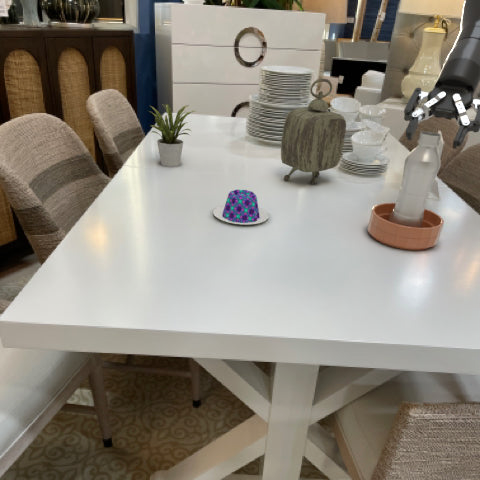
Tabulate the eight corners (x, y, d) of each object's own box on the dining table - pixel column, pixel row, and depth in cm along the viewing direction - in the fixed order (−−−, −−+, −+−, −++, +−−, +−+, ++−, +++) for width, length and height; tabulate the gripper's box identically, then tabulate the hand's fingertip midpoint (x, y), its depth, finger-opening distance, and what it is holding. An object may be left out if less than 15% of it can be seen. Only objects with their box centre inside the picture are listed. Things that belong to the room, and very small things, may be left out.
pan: (425, 227, 105) (431, 205, 102) (445, 255, 93) (453, 231, 90) (361, 222, 105) (366, 200, 102) (374, 249, 93) (379, 225, 90)
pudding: (206, 208, 105) (207, 185, 102) (256, 205, 109) (258, 183, 106) (222, 229, 96) (224, 204, 93) (276, 225, 99) (279, 201, 96)
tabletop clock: (316, 174, 134) (332, 76, 120) (339, 183, 128) (358, 81, 114) (276, 180, 127) (288, 76, 113) (298, 190, 121) (314, 82, 107)
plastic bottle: (386, 225, 102) (411, 128, 91) (419, 231, 100) (448, 133, 89) (384, 236, 97) (411, 134, 86) (418, 242, 95) (450, 139, 84)
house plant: (202, 159, 138) (204, 99, 129) (198, 173, 127) (199, 107, 118) (154, 155, 138) (152, 94, 129) (145, 169, 126) (142, 102, 117)
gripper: (498, 90, 92) (467, 161, 90) (424, 80, 98) (395, 147, 96) (505, 60, 86) (472, 136, 83) (426, 52, 91) (394, 122, 89)
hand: (431, 142), depth 90 cm, fingers open, 8 cm apart
